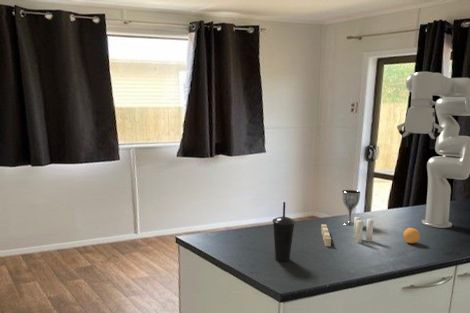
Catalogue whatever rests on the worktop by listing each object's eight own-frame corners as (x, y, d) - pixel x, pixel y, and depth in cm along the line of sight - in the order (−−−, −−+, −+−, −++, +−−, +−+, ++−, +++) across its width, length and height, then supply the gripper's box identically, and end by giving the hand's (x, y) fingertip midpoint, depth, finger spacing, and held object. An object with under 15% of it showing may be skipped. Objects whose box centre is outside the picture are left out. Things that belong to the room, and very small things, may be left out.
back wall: (321, 231, 178) (321, 224, 178) (325, 231, 178) (326, 224, 178) (325, 246, 158) (325, 238, 158) (330, 246, 158) (331, 238, 158)
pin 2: (354, 241, 166) (355, 220, 165) (361, 241, 165) (362, 220, 164) (355, 242, 163) (356, 221, 162) (362, 243, 163) (363, 222, 162)
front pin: (365, 239, 168) (366, 219, 167) (371, 240, 167) (372, 219, 166) (366, 241, 165) (367, 220, 164) (372, 241, 165) (373, 220, 164)
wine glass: (344, 220, 197) (345, 189, 195) (361, 223, 192) (362, 191, 191) (337, 223, 190) (339, 191, 189) (354, 227, 186) (356, 193, 184)
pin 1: (352, 237, 171) (354, 216, 170) (358, 237, 170) (360, 217, 169) (353, 239, 168) (354, 218, 167) (359, 239, 168) (361, 218, 167)
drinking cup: (296, 257, 146) (298, 201, 143) (289, 264, 139) (291, 205, 136) (275, 254, 149) (277, 199, 146) (268, 260, 142) (269, 203, 140)
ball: (400, 240, 168) (401, 225, 167) (416, 241, 167) (417, 226, 166) (405, 245, 162) (406, 230, 161) (421, 246, 161) (422, 230, 160)
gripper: (448, 104, 159) (444, 149, 161) (402, 104, 171) (399, 146, 172) (442, 104, 154) (439, 150, 155) (395, 103, 165) (392, 147, 167)
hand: (418, 148), depth 164 cm, fingers open, 9 cm apart
